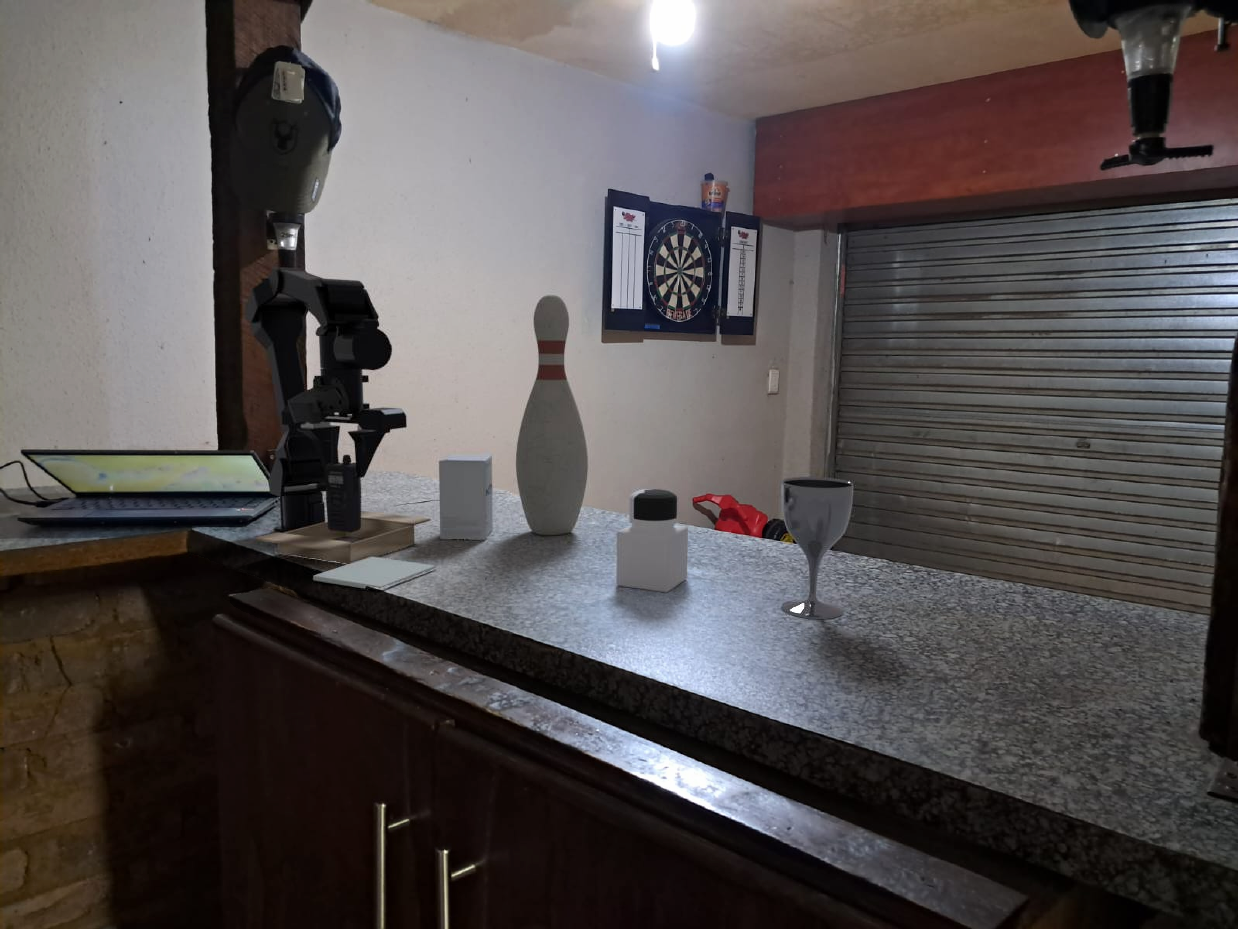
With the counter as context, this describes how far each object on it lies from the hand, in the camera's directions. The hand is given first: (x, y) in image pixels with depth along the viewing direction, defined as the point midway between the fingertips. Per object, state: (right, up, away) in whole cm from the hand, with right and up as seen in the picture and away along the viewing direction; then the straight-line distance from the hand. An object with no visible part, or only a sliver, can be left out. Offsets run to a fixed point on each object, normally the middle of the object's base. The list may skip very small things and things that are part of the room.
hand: (345, 475), depth 123 cm
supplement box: (+16, -10, +12) cm, 22 cm away
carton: (0, -11, +2) cm, 11 cm away
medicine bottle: (+44, -14, -14) cm, 48 cm away
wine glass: (+63, -15, -25) cm, 69 cm away
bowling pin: (+29, -10, +15) cm, 34 cm away
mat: (+8, -13, -12) cm, 19 cm away
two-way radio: (0, -8, +1) cm, 8 cm away
